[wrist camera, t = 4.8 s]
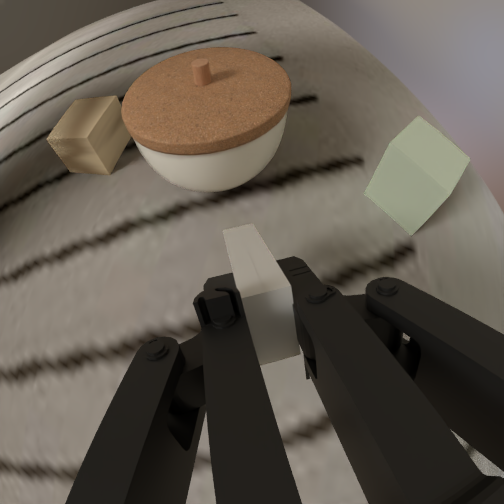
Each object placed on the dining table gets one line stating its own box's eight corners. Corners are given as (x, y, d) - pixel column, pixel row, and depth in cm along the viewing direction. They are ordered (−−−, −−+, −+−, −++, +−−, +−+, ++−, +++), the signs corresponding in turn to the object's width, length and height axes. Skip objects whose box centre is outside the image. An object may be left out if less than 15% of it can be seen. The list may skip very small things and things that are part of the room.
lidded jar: (210, 104, 26) (198, 20, 17) (308, 150, 23) (325, 54, 14) (127, 177, 23) (82, 92, 14) (226, 245, 20) (205, 151, 11)
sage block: (363, 193, 22) (389, 142, 16) (393, 163, 23) (418, 115, 17) (410, 236, 20) (450, 194, 15) (435, 201, 21) (470, 158, 16)
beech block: (71, 172, 23) (46, 139, 19) (94, 134, 25) (75, 99, 20) (110, 175, 23) (86, 137, 18) (133, 134, 25) (116, 95, 20)
